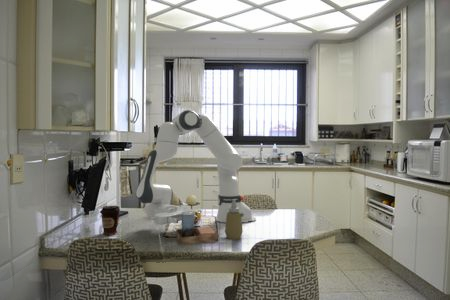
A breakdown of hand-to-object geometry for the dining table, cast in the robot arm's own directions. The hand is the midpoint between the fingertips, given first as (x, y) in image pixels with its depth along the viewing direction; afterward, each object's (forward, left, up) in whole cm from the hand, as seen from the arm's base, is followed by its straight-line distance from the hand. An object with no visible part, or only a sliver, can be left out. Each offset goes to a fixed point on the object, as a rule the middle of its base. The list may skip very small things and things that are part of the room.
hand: (185, 219), depth 140 cm
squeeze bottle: (-21, +5, -10) cm, 24 cm away
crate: (-5, +2, -9) cm, 11 cm away
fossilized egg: (+4, -51, -10) cm, 52 cm away
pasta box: (-9, +2, -8) cm, 12 cm away
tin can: (-1, +2, -8) cm, 9 cm away
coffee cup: (+34, -17, -10) cm, 39 cm away
